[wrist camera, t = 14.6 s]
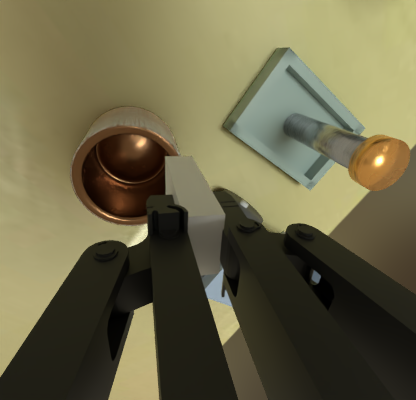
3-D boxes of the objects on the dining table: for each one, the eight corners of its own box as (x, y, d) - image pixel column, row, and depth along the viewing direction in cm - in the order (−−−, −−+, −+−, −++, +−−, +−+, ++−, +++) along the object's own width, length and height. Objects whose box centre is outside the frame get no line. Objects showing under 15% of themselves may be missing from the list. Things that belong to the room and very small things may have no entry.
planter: (163, 95, 32) (171, 109, 23) (184, 176, 37) (196, 211, 29) (70, 117, 30) (45, 140, 22) (106, 197, 36) (96, 239, 28)
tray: (222, 125, 35) (229, 131, 32) (277, 48, 32) (289, 47, 29) (299, 182, 42) (310, 190, 39) (350, 123, 39) (365, 128, 36)
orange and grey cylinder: (271, 130, 36) (351, 174, 22) (294, 100, 34) (393, 128, 21) (293, 148, 38) (378, 199, 24) (316, 120, 36) (418, 158, 23)
